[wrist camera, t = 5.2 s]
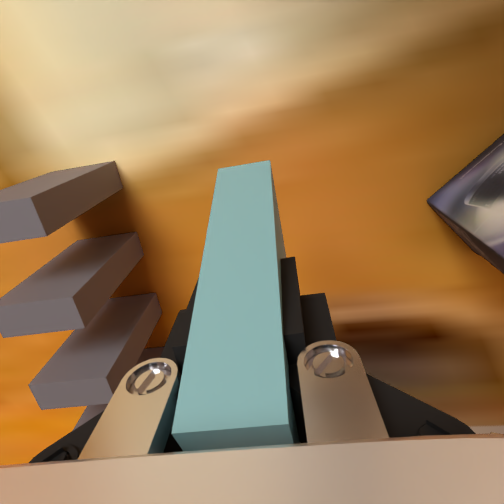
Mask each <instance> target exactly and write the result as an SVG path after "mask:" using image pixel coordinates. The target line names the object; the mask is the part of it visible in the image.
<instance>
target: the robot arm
mask: <svg viewBox="0 0 504 504" xmlns="http://www.w3.org/2000/svg"><path fill="white" fill-rule="evenodd" d="M280 265H281V291H282V318H283V337H284V343H285V348H286V354H287V360H288V367H289V386H290V392H291V397H292V403H293V409H294V414H295V420H296V425H297V431H298V437H299V442H300V443H299V444H284V445H268V446H254V447H240V448H225V449H211V450H197V451H183V450H182V448H181V447H180V446H179V444H178V443H177V441H176V440H175V438H174V437H173V435H172V434H171V433H172V427H173V422H174V416H175V410H176V405H177V399H178V393H179V388H180V382H181V376H182V371H183V365H184V360H185V354H186V348H187V343H188V337H189V331H190V326H191V320H192V314H193V309H194V303H195V297H196V292H197V286H198V281H199V278H198V281H197V283H196V286H195V289H194V291H193V294H192V296H191V299H190V301H189V304H188V307H187V309H185V310H180V312H179V313H178V316H177V318H176V320H175V323H174V325H173V328H172V330H171V332H170V335H169V337H168V340H167V342H166V344H165V347H164V349H163V351H162V354H161V356H160V358H154V359H149V360H147V361H144V362H142V363H140V364H138V365H136V366H135V367H133V368H132V369H131V370H130V371H128V372H127V373H126V375H125V376H124V377H123V379H122V380H121V382H120V384H119V385H118V387H117V389H116V391H115V393H114V394H113V396H112V398H111V400H110V402H109V403H108V405H107V407H106V409H105V410H104V411H102V412H101V413H99V414H98V415H96V416H95V417H93V418H92V419H90V420H89V421H87V422H86V423H84V424H83V425H81V426H79V427H78V428H76V429H75V430H73V431H72V432H70V433H69V434H67V435H66V436H64V437H63V438H61V439H60V440H58V441H57V442H55V443H54V444H52V445H50V446H49V447H47V448H46V449H44V450H43V451H42V452H40V453H39V454H38V455H37V456H35V457H34V458H33V459H32V460H31V461H30V462H29V463H26V464H14V465H2V466H0V504H504V434H497V433H493V432H491V433H490V434H475V433H474V432H473V431H472V430H471V429H470V428H469V427H468V426H467V425H466V424H464V423H462V422H461V421H459V420H458V419H456V418H454V417H452V416H450V415H448V414H446V413H444V412H442V411H440V410H438V409H436V408H434V407H432V406H430V405H428V404H426V403H424V402H422V401H420V400H418V399H416V398H414V397H412V396H410V395H408V394H406V393H404V392H402V391H400V390H398V389H396V388H394V387H392V386H390V385H388V384H386V383H384V382H382V381H380V380H378V379H376V378H374V377H372V376H370V375H368V374H366V373H365V370H364V367H363V364H362V362H361V359H360V356H359V355H358V353H357V351H356V350H355V349H354V348H352V347H351V346H350V345H348V344H345V343H343V342H339V341H336V337H335V333H334V329H333V325H332V321H331V317H330V313H329V308H328V304H327V300H326V296H325V293H319V294H311V295H302V296H300V291H299V283H298V276H297V269H296V262H295V257H289V258H282V259H280Z"/></svg>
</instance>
